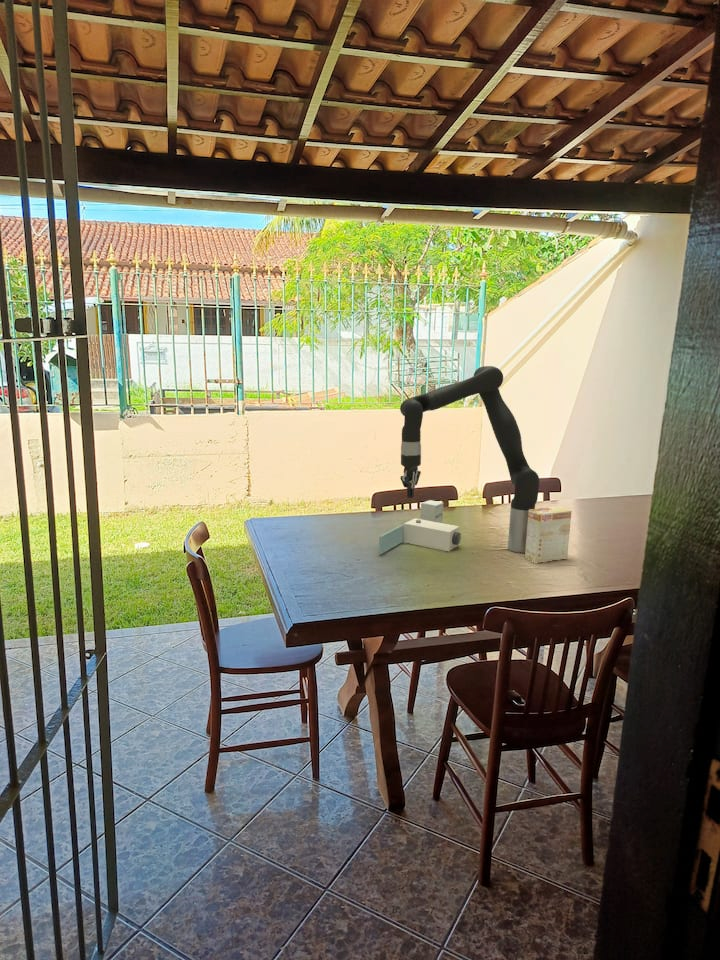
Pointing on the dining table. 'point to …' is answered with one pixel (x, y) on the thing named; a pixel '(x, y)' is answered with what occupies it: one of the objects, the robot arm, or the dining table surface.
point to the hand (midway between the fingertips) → (410, 497)
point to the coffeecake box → (547, 534)
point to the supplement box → (432, 511)
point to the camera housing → (431, 534)
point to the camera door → (391, 539)
